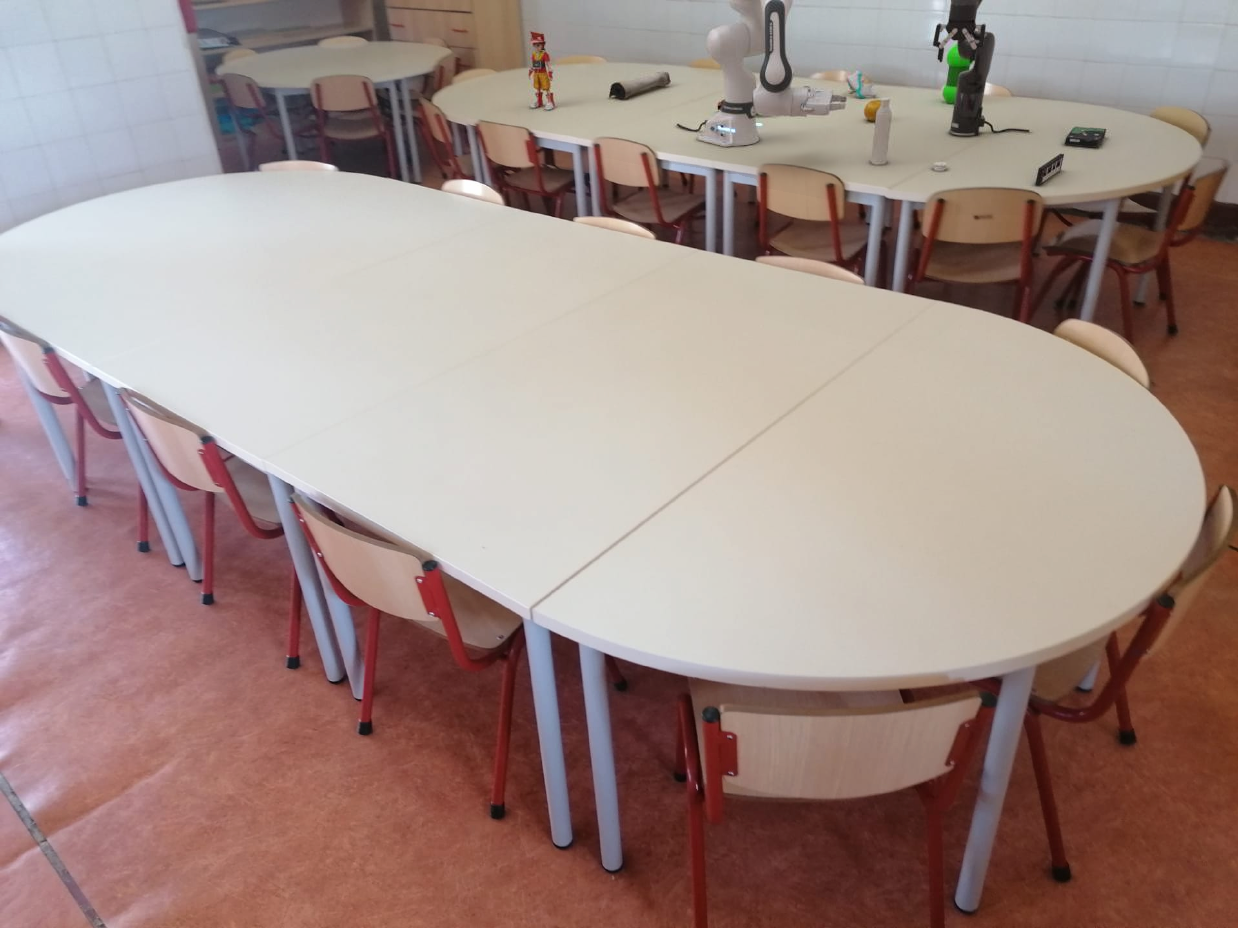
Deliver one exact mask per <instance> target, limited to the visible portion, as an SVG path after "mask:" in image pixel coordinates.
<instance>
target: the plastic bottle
mask: <svg viewBox="0 0 1238 928" xmlns="http://www.w3.org/2000/svg"><path fill="white" fill-rule="evenodd" d="M969 61H970V60H965V59H962V58H960V56H959V54H958V48H957V43H956V44H954V45H953V46H952V47H951V48H950V49H949V50H948V52H947V54H946V63H947V64H948V69H947V70H948V71H947V76H946V77H947V78H946V84H945V85H944V87H943V90H942V97H943V99H944V100H945V101H946V102H947V103H948V104H954V103H955V96H956V90H957V83H958V77H959V74H960V73H961V72H963V71H967V70H970V67H971V65H972V64H974V61H972V63H969Z"/></svg>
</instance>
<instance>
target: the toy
mask: <svg viewBox="0 0 1238 928" xmlns="http://www.w3.org/2000/svg"><path fill="white" fill-rule="evenodd" d="M529 33H530V35H531V36H528V37H527V38H528V39H529V40H528V41H527V43H529V44H530V43H531V44H532V48H533V50H534V51H533V52H532V55H531V58H530V59H531V63H530V66H528V74H527V75H528V76H527V77H528V79H529V80H531V75H532V74H533V84H532V85H533V86H532V87H533V88H534V89H535V90H536V92H534V95H535V97H536V100H535V101H533V102H531V105H530V108H531V109H535V108H538V107H542V106H544V101H543V100H544V99H543V95H544V92H546V94H545V97H546V99H547V103H546V104H545V106H544V110H546V111H549V110H553V109H554V107H555V106H556V105H555V99H554V92H551V91H550V90H551V86H552V84H551V82H552V81H553V80H554V77H553V73H554V71H555V70H554V69H552V68H551V63H550V61H551V59H550V58H551V57H550V54H549V53H548V52H547V50H546V48H545V46H546V44H547V41H545V35H544V33H543V32H542V33H539V32H535V31H529Z"/></svg>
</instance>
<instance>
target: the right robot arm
mask: <svg viewBox="0 0 1238 928" xmlns="http://www.w3.org/2000/svg"><path fill="white" fill-rule="evenodd" d="M983 1H984V0H950V5H949V6H950V7H949V13H948V21H947V24H946V23H945V24H943V23H940V22H939V23H937V25H935V32H934V37H933V41H932V46H933V47H936V48H938V53H937V61H939V63H943V59H944V53H945V46H946V45H947V43H948V42H950V40H952V41H956V44H957V48H958V54H959V56H960V58H962V59H965V60H970V61H969V63H972V61H973V63H972V64H973V66H972V68H971V69H970V68H969V70H967V71H963V72H961V73H960V74H959V77H958V83H957V90H956V96H955V103H953V110H952V115H951V124H950V129H949V134H950V135H952V136H956V137H973V136H979V131H980V128H984V127H985V124H986V125H988V126H989V127H990V131H991V133H993V134H998V133H999V134H1000V133H1004V132H1011V131H1012V132H1013V131H1015V132H1025V133H1030V129H1026V128H1025V129H1024V128H1013V127H1011V128H1009V127H1008V128H1004V129H1000V130H995V129H994V127H993V124H992V123H990V122H989V121H987V120H986V118H985V115H983V109H984V107H983V102H984V96H985V90H986V83H987V79H988V76H989V74H990V71H991V65H992V60H993V56H994V54H995V53H994V52H995V46H996V36H995V34H994V33H993V32H992V31H986V30H987V24H986V23H982V24H976V20H977V12H978V9H979V7H980V6H981V5H982V2H983ZM944 30H945V31H946V33H947V35H946V37H945V38H944V39H943V40H942V41H941V42H940V41H939V40H940V36H941V35H940V34H941V33H942V32H943V31H944Z"/></svg>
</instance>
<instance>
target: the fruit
mask: <svg viewBox="0 0 1238 928" xmlns="http://www.w3.org/2000/svg"><path fill="white" fill-rule="evenodd" d="M881 100H882V99H874V100H870V101H869V102H867V103H866V105H865V106H864V110H863V115H864V117H865V119H867V120H868V121H871V122H875V121H876V113H877V111H878V110H879V108H880V107H881Z"/></svg>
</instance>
